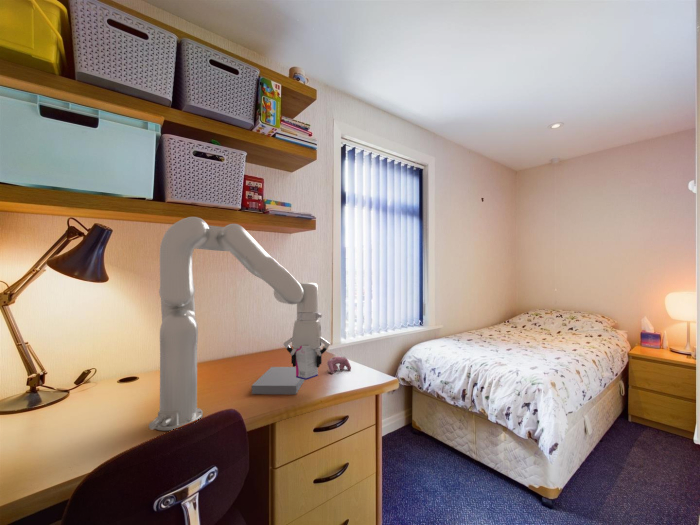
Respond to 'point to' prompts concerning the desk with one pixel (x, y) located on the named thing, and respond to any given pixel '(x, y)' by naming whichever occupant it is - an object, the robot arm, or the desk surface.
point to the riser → (278, 381)
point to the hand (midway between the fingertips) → (306, 365)
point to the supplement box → (306, 363)
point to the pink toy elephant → (338, 360)
